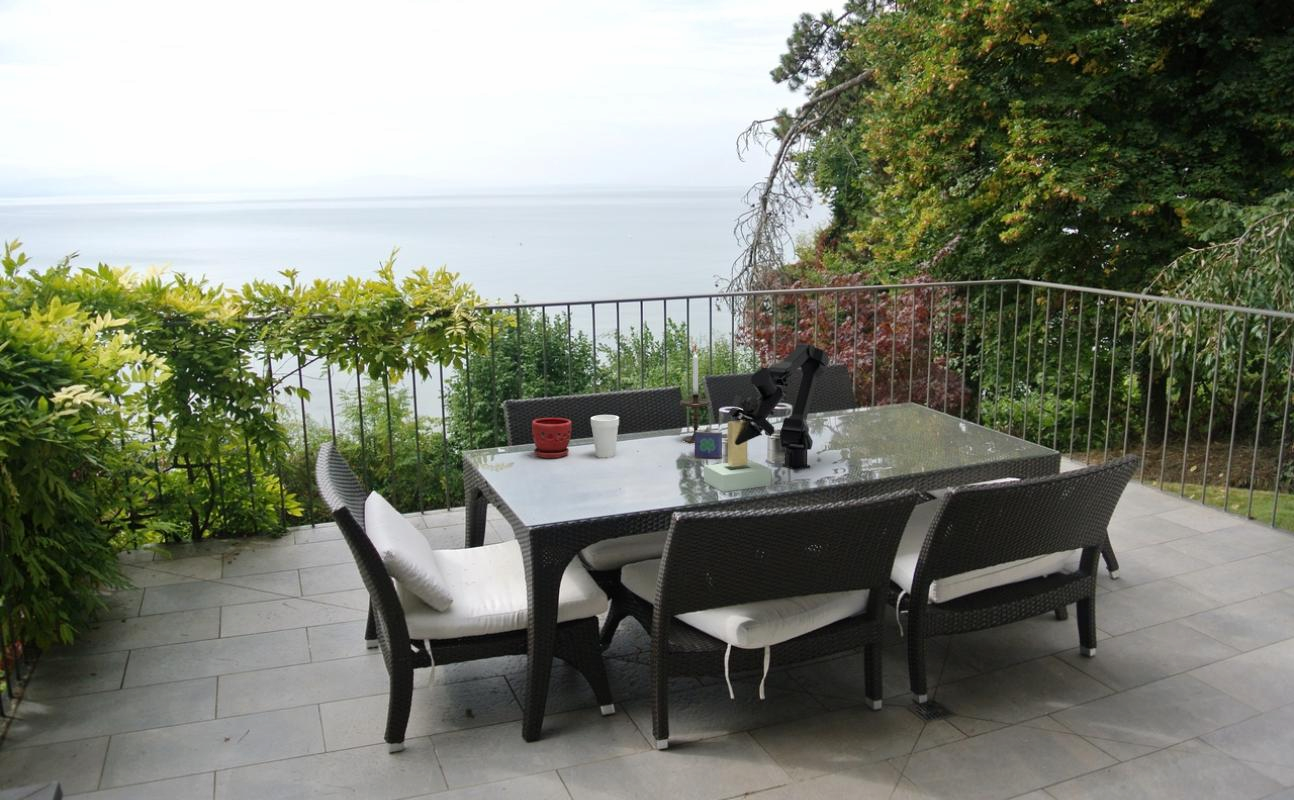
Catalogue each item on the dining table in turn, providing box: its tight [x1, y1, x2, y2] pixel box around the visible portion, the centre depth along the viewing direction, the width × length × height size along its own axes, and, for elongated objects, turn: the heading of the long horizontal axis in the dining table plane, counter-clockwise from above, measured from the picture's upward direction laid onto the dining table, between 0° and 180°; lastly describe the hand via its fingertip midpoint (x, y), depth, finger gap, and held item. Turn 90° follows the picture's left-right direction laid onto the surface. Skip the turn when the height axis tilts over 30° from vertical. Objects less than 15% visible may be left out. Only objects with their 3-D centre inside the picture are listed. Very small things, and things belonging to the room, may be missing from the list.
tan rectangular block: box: [727, 420, 748, 467], centre depth 281 cm, size 5×3×13 cm, turn 112°
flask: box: [694, 425, 723, 460], centre depth 313 cm, size 9×3×11 cm, turn 78°
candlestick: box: [679, 343, 712, 444], centre depth 335 cm, size 11×11×35 cm
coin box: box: [703, 459, 772, 493], centre depth 283 cm, size 16×12×5 cm
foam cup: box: [590, 414, 620, 458], centre depth 318 cm, size 10×9×13 cm
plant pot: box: [531, 417, 572, 459], centre depth 319 cm, size 13×13×12 cm
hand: (733, 443), depth 280 cm, fingers closed on tan rectangular block, 3 cm apart
